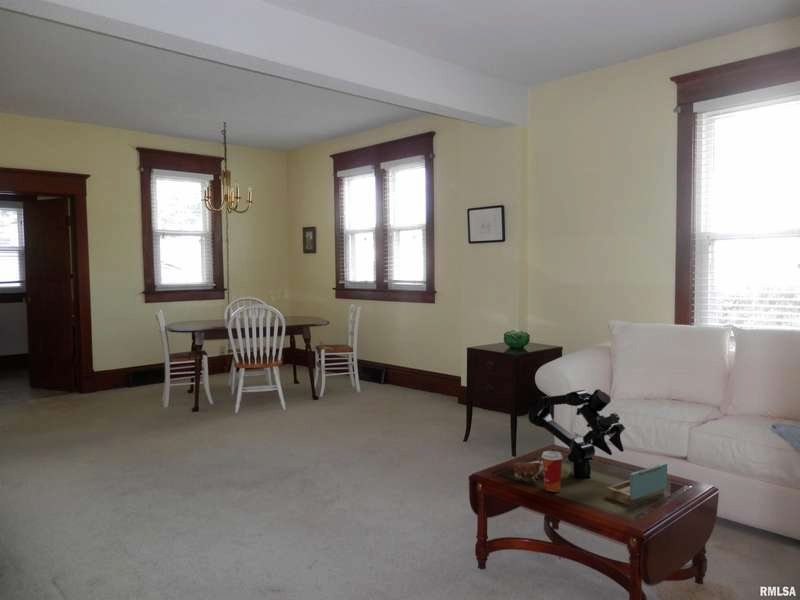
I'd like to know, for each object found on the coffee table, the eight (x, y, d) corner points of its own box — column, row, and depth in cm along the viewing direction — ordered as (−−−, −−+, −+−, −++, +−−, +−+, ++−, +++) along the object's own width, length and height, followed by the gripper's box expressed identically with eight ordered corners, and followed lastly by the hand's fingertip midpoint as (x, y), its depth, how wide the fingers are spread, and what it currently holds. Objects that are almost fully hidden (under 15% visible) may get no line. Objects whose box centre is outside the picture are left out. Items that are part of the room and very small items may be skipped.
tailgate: (630, 499, 213) (630, 473, 212) (664, 487, 224) (664, 462, 223) (633, 500, 212) (633, 474, 211) (668, 488, 222) (668, 463, 222)
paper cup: (543, 485, 234) (543, 449, 233) (564, 487, 231) (563, 451, 230) (540, 492, 227) (539, 455, 226) (561, 495, 224) (561, 457, 223)
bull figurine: (547, 483, 236) (547, 462, 236) (512, 481, 239) (512, 460, 239) (547, 479, 241) (547, 459, 240) (512, 477, 243) (512, 457, 243)
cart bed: (606, 496, 221) (606, 487, 221) (640, 485, 232) (640, 476, 232) (629, 505, 213) (629, 495, 213) (663, 492, 224) (663, 483, 224)
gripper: (589, 409, 227) (613, 445, 218) (621, 403, 237) (645, 437, 229) (572, 426, 234) (595, 461, 225) (604, 419, 244) (627, 452, 236)
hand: (617, 453), depth 229 cm, fingers open, 6 cm apart
